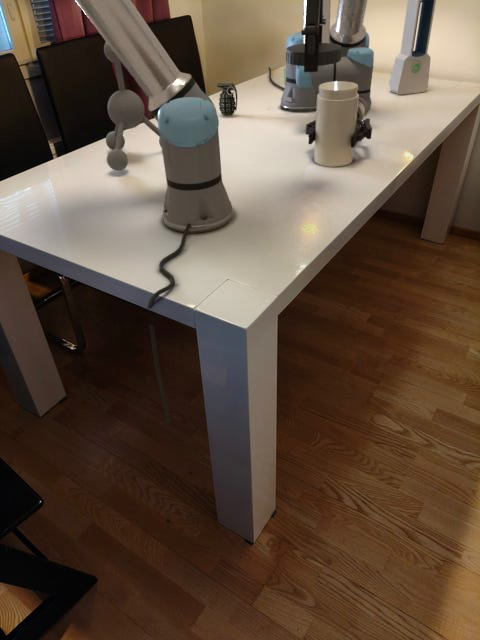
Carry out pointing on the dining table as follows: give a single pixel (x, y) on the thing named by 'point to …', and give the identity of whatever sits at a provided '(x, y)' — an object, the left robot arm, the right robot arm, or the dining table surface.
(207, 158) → the left robot arm
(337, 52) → the lid
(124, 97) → the molecular model
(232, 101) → the grenade
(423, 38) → the electronic device
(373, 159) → the dining table surface
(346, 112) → the jar
